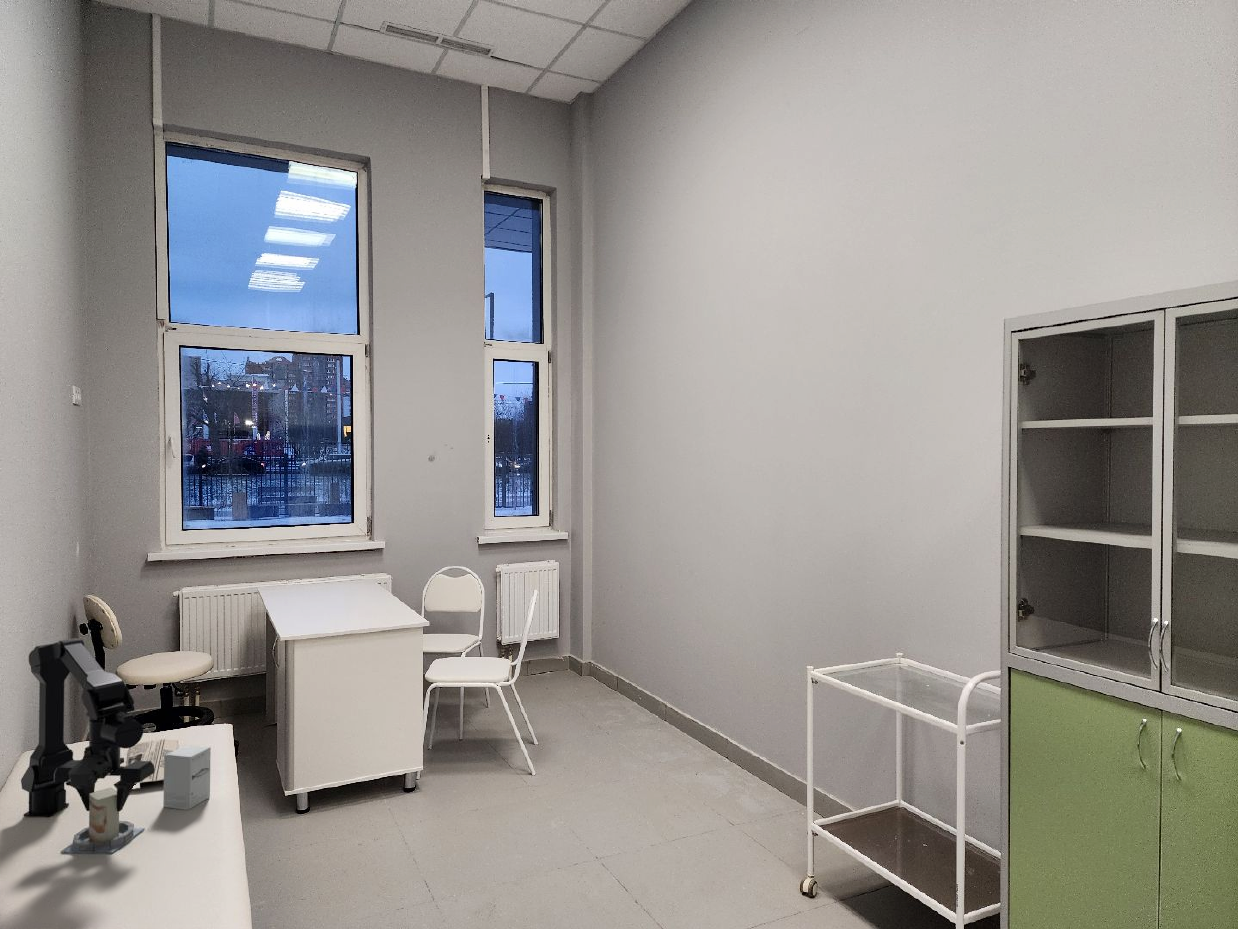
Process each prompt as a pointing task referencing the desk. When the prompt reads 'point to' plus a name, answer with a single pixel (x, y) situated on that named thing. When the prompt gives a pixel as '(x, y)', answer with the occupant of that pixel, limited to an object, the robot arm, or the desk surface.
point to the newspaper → (152, 756)
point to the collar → (103, 847)
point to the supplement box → (186, 777)
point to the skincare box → (103, 815)
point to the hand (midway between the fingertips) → (104, 810)
